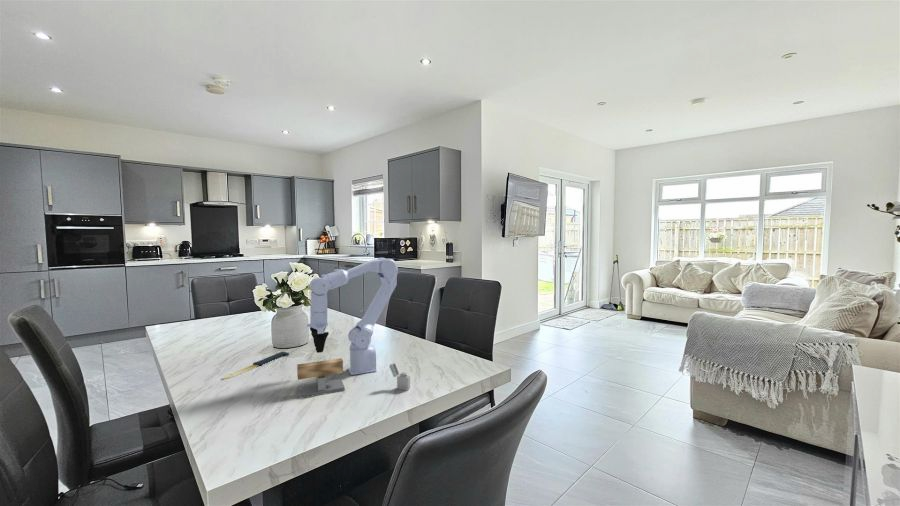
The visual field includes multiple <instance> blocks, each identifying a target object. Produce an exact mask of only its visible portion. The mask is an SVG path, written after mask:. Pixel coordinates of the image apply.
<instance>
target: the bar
mask: <svg viewBox="0 0 900 506" xmlns="http://www.w3.org/2000/svg"><path fill="white" fill-rule="evenodd" d="M296 369H297V372H296V373H297V380H298V381H299V380H304V379H305V380H306V379H312V378H316V377H319V376H325V377H326V376H331V375H336V374H339V375H340V374H343V373H344V361H343V358H334V359H329V360H327V359H326V360H320V361H313V362H306V363H299V364H296Z"/></svg>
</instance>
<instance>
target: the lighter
mask: <svg viewBox="0 0 900 506" xmlns="http://www.w3.org/2000/svg"><path fill="white" fill-rule="evenodd" d="M389 369H390V372H391V374H392V376H393V378H395V377H396V383H397V384H396V385H397V387H396V388H397V390H401V391H405V392H408V391H409V389H410V390H411V376H410V375H408V374H407V372H404V371H403V372H399V369H398V367H397V364H396V362H393V363H391V364H389Z"/></svg>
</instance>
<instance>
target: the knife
mask: <svg viewBox="0 0 900 506" xmlns="http://www.w3.org/2000/svg"><path fill="white" fill-rule="evenodd" d="M289 355H290V352H286V351H280V352H279V353H278V352H277V353H276V354H273V355H271V356H268V357H265V358H263V359H261V360H260V359H259V360H258V361H255V362H252V364H251V365H249V366H246V367H244V368H241V369H238V370H236V371H234V372H231V373H229V374H227V375H223V377H222V378H221V380H222V381H225V380H227V379H231V377H232V378H233V377H236V375H237V376H239V375H241V373H242V374H243V372H244V373H246V372H248V370H249V371H251V370H253V368H254V369H256V368H258V366H261V367H263V366H264V365H266V364H269V363H271V362H273V361H276V360H279V359H280V358H283V357H288V356H289ZM275 359H276V360H275ZM272 360H273V361H272ZM270 361H271V362H270ZM268 362H269V363H268ZM265 363H266V364H265ZM263 364H264V365H263ZM262 365H263V366H262ZM255 367H256V368H255ZM224 379H225V380H224Z"/></svg>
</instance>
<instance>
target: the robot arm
mask: <svg viewBox="0 0 900 506" xmlns="http://www.w3.org/2000/svg"><path fill="white" fill-rule="evenodd" d="M398 271H399V268H398V265H397V263H396V261H395V260H394V259H393V258H385V257H378V258H375V259H371V260H369V261H366V262H364V263H361V264H359V265H357V266H354V267H352V268H351V267H350V268H349V269H347V270H344V269H342V268H340V269H339V268H335V269H334V271H332V272H330V273H326V274H321V277H314V278H312V279H311V280H310V282H309V285H308V289H309V290H310V305H309V306H310V310H309V311H310V312H309V313H310V316H309V317H310V319H309V320H310V323H307V324H306V327H307V328H309V331H310V332H311V333H310V334H311V337H312V338H313V339H312V340H313V344H314V347H315V352H316V353H318V354H319V353H320V354H321V353H323V352H324V349H325V344H326V341H327V338H328V337H329V332H328V331H326V328H327V327H328V326H329V322H328V292H329V290H330V291H332V290H334V289H336V288H339V287H341V286H344V285H347V284H348V282H349V280H350V279H353V278H355V277H358V276H362V275H364V274H367V273H370V272H371V273H376V274H378V276H379V278H380V282H381V285H380V287H379V288H378V290H377V291H376V294H375V296H373V299H372V301H371V302H370V304H369V306H368V308H367V309H366V311H365V313H364V315H363V316H362V318H361V320H359V321H358V322H356V325H354V327H353V328H351V329H350V330H349V332H348V335H347V337H348V341H349V342H351V343H350V345H349V366H348V367H347V370H348V371H349V374H350V376H355V375H362V374H368V373H373V372H377V371H378V370H377V350H376V347H375V345H370V344H371V342H372V336H373V334H374V326H375V324H377V323H376V322H377V321H378V319H379V318H380V315H381V314H382V312H383V310H384V308H385V307H386V305H387V304H388V302H389V300H390V298H391V297H392V295H393V292H394V291H395V289H396V287H397V285H398V284H397V282H398V281H397V279H398Z"/></svg>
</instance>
